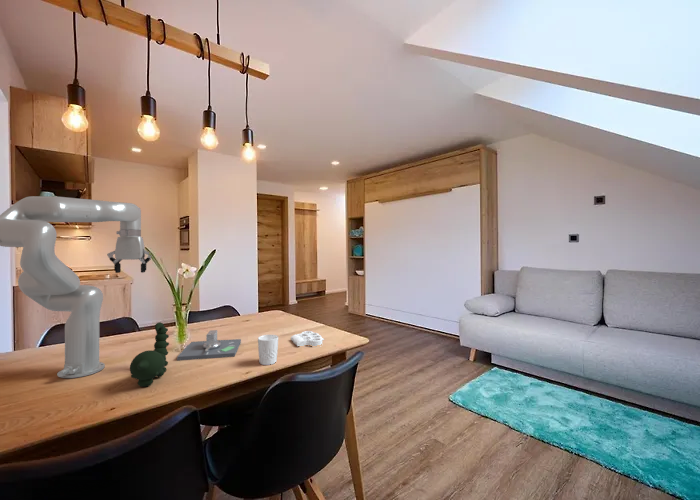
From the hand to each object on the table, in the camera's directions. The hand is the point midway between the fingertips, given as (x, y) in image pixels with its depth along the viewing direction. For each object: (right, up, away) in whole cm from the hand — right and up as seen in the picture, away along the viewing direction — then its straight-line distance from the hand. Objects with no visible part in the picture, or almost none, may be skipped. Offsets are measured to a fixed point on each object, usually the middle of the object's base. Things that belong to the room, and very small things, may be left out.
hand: (130, 272), depth 134 cm
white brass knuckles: (+77, -36, +14) cm, 86 cm away
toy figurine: (+28, -35, -28) cm, 53 cm away
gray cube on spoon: (+37, -33, -3) cm, 50 cm away
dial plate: (+36, -35, 0) cm, 50 cm away
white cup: (+65, -35, -13) cm, 75 cm away
